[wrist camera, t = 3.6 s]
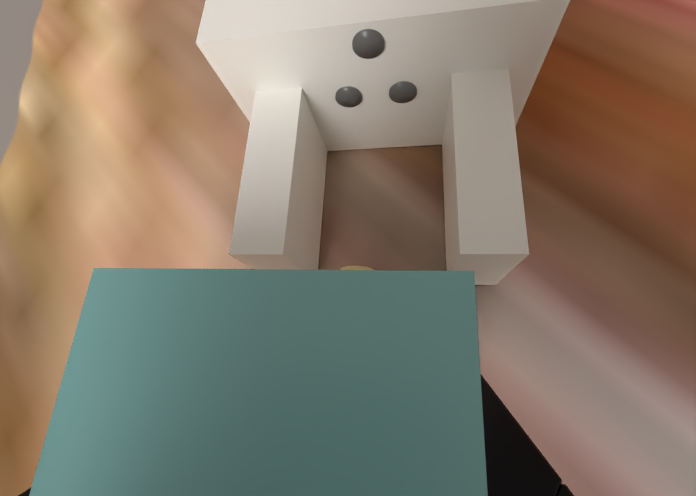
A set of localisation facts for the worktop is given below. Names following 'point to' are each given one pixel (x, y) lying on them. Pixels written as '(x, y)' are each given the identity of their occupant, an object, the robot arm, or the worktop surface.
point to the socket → (380, 111)
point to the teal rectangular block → (270, 386)
